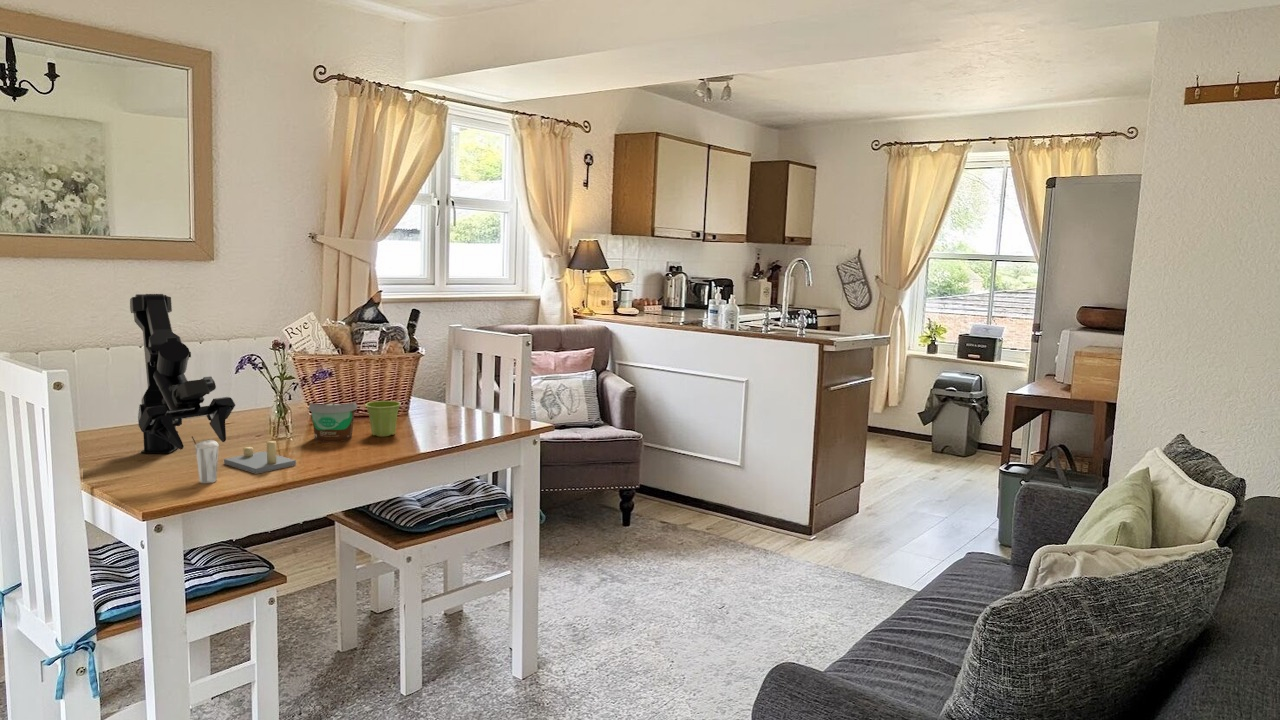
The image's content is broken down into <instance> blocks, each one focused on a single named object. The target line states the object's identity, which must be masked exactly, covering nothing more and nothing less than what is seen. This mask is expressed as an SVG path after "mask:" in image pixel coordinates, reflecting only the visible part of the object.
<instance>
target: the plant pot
mask: <svg viewBox="0 0 1280 720" xmlns="http://www.w3.org/2000/svg"><path fill="white" fill-rule="evenodd" d="M364 405H365V407H366V410H367V413H368V417H369V423H370V429H371V434H372V436H376V437H380V438H381V437H389V436H393V435H395V434H396V427H397V421H398V412H399V410H400V406H401V405H402V403H401V402H400V401H394V400H377V401H376V400H375V401H370V402H366V403H365V404H364Z"/></svg>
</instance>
